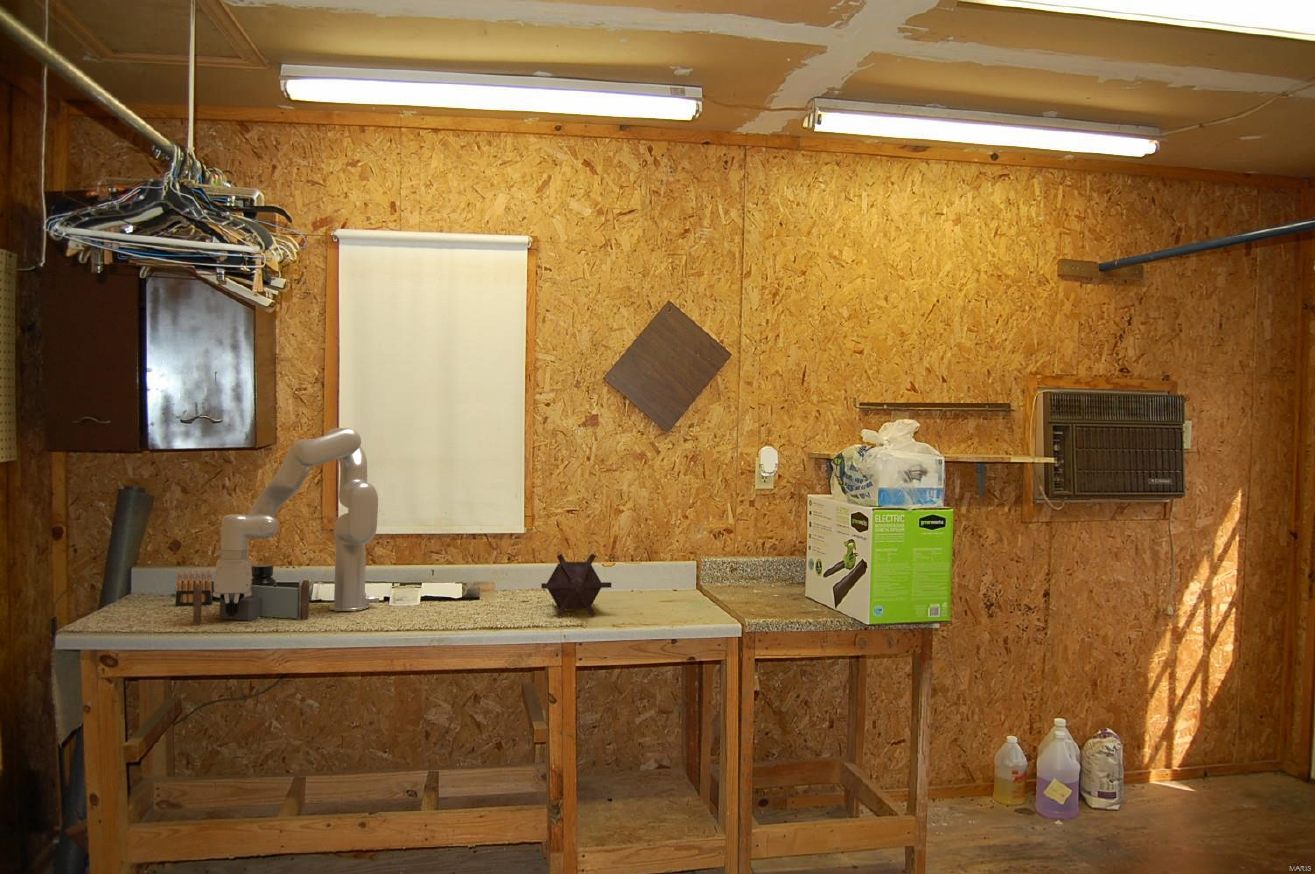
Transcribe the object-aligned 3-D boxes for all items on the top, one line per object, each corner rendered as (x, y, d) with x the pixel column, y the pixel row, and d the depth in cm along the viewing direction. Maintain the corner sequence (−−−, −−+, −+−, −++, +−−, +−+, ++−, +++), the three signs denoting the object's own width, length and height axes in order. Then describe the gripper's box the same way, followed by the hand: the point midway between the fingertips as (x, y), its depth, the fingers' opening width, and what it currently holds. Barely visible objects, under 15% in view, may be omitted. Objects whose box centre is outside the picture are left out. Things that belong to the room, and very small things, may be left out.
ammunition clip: (175, 606, 275) (176, 569, 275) (176, 605, 277) (177, 569, 277) (211, 605, 278) (211, 569, 278) (212, 604, 280) (213, 568, 280)
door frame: (308, 617, 262) (309, 579, 262) (308, 619, 260) (309, 580, 260) (194, 623, 251) (195, 583, 251) (193, 625, 249) (193, 585, 249)
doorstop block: (260, 617, 262) (261, 597, 262) (248, 620, 256) (249, 600, 256) (232, 615, 264) (233, 596, 264) (219, 618, 258) (220, 598, 258)
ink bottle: (277, 601, 286) (278, 566, 286) (248, 603, 282) (249, 568, 282) (273, 596, 295) (274, 562, 295) (245, 598, 290) (246, 564, 290)
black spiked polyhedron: (599, 618, 294) (613, 622, 265) (533, 613, 290) (540, 618, 261) (604, 556, 298) (618, 554, 269) (539, 551, 293) (547, 548, 265)
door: (299, 616, 261) (300, 588, 261) (296, 617, 260) (297, 588, 260) (226, 611, 266) (226, 583, 266) (222, 612, 265) (223, 584, 265)
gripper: (205, 556, 249) (201, 618, 249) (260, 556, 254) (257, 617, 254) (208, 553, 256) (205, 613, 256) (262, 553, 261) (259, 612, 261)
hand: (231, 615), depth 255 cm, fingers closed
